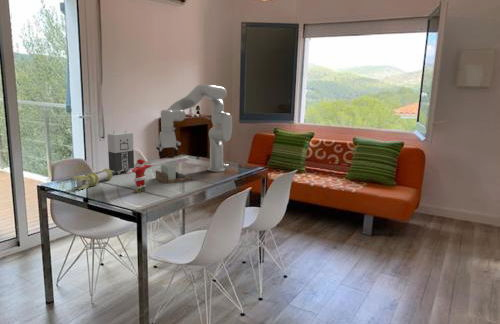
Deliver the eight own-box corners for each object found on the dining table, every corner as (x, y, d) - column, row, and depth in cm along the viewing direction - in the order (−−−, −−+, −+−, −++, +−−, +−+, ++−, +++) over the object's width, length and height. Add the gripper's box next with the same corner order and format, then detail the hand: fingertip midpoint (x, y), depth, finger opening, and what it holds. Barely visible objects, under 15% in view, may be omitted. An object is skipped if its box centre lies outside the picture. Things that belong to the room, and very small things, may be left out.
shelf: (181, 175, 254) (181, 168, 253) (191, 180, 241) (191, 172, 240) (155, 178, 245) (155, 170, 244) (164, 183, 231) (164, 175, 231)
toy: (116, 175, 250) (114, 130, 244) (109, 173, 254) (107, 129, 248) (134, 171, 262) (132, 129, 256) (127, 170, 266) (125, 128, 260)
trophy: (102, 167, 238) (69, 177, 209) (113, 168, 236) (81, 178, 208) (103, 179, 239) (70, 191, 211) (113, 180, 238) (81, 192, 209)
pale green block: (168, 175, 247) (168, 163, 246) (175, 179, 237) (175, 166, 236) (161, 176, 244) (161, 164, 243) (168, 179, 235) (167, 167, 233)
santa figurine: (149, 185, 225) (148, 155, 222) (157, 186, 223) (157, 156, 220) (122, 196, 202) (120, 162, 199) (131, 197, 200) (129, 163, 197)
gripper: (178, 128, 243) (178, 154, 246) (152, 129, 233) (153, 156, 237) (182, 129, 236) (183, 156, 240) (156, 131, 227) (157, 158, 231)
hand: (168, 156), depth 238 cm, fingers open, 9 cm apart
